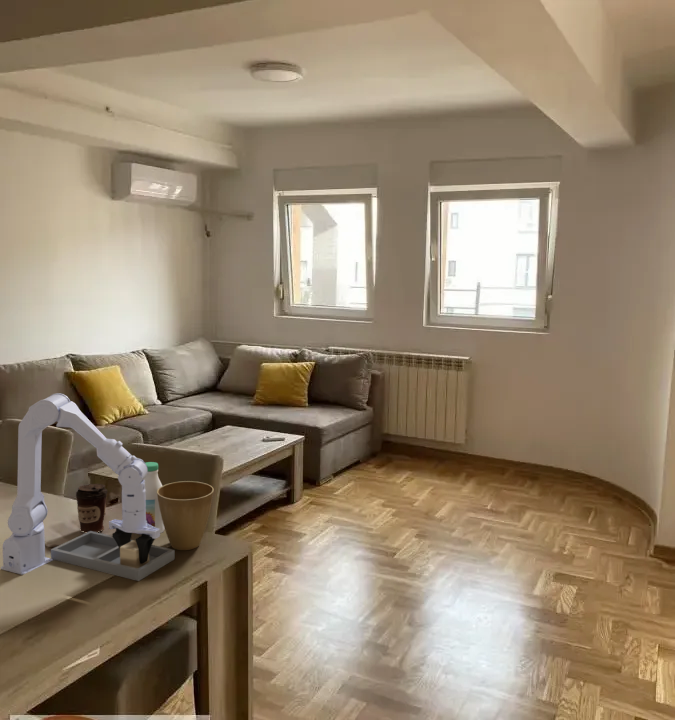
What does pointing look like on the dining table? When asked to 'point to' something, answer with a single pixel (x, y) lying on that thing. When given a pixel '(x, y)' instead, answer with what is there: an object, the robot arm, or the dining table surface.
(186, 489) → the plant pot
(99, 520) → the coffee cup
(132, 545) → the maple cube
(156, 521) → the milk bottle
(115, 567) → the tray
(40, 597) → the dining table surface
